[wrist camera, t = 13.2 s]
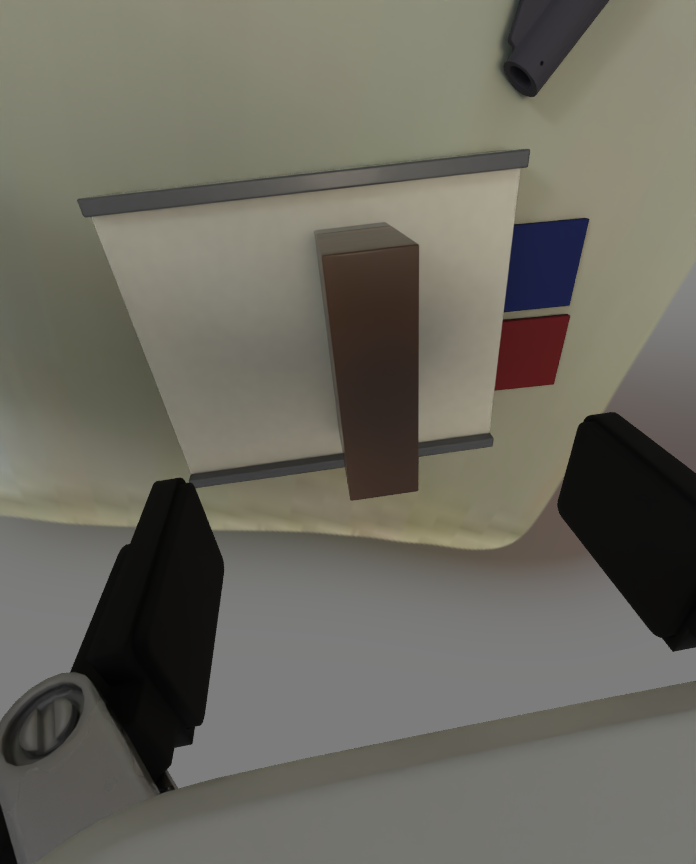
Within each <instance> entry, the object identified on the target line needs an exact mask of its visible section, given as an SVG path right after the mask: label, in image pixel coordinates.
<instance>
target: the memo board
mask: <svg viewBox="0 0 696 864" xmlns="http://www.w3.org/2000/svg"><path fill="white" fill-rule="evenodd" d="M529 155H530V149H518V150H503V151H494V152H485V153H476V154H467V155H458V156H449V157H440V158H431V159H422V160H413V161H404V162H395V163H386V164H377V165H368V166H359V167H350V168H341V169H332V170H323V171H314V172H305V173H296V174H287V175H278V176H269V177H260V178H251V179H242V180H233V181H224V182H215V183H206V184H197V185H188V186H179V187H170V188H161V189H152V190H143V191H134V192H125V193H116V194H107V195H99V196H93V197H88V198H82V199H78V200H77V202H78V204H79V207H80V209H81V212H82V214H83V216H84V217H91V218H92V221H93V223H94V226H95V228H96V231H97V233H98V236H99V239H100V241H101V244H102V246H103V249H104V251H105V254H106V257H107V259H108V262H109V264H110V267H111V269H112V272H113V274H114V277H115V280H116V282H117V285H118V287H119V290H120V292H121V295H122V298H123V300H124V303H125V305H126V308H127V310H128V313H129V316H130V318H131V321H132V323H133V326H134V328H135V331H136V334H137V336H138V339H139V341H140V344H141V346H142V349H143V351H144V354H145V357H146V359H147V362H148V364H149V367H150V369H151V372H152V375H153V377H154V380H155V382H156V385H157V387H158V390H159V393H160V395H161V398H162V400H163V403H164V405H165V408H166V411H167V413H168V416H169V418H170V421H171V423H172V426H173V428H174V431H175V434H176V436H177V439H178V441H179V444H180V446H181V449H182V452H183V454H184V457H185V459H186V462H187V464H188V467H189V470H190V472H191V476H190V479H189V483H192V484H193V485H194V487H195V488H200V487H207V486H214V485H221V484H228V483H235V482H242V481H250V480H257V479H264V478H271V477H278V476H285V475H292V474H299V473H307V472H314V471H321V470H328V469H335V468H342V467H345V464H344V458H343V452H342V446H341V440H340V434H339V427H338V419H337V411H336V403H335V395H334V387H333V379H332V371H331V363H330V355H329V347H328V339H327V331H326V323H325V315H324V307H323V299H322V291H321V283H320V275H319V267H318V259H317V251H316V243H315V235H314V231H315V230H322V229H330V228H339V227H347V226H356V225H364V224H373V223H381V222H386V223H387V224H389V225H390V226H392V227H394V228H395V229H397V230H398V231H400V232H401V233H403V234H404V235H406V236H407V237H408V238H410V239H411V240H413V241H414V242H416V243H417V244H419V442H418V457H421V456H428V455H435V454H442V453H449V452H456V451H463V450H471V449H478V448H485V447H492V446H493V440H494V438H493V437H492V435H491V434H490V433H489V431H490V423H491V414H492V406H493V397H494V389H495V380H496V372H497V364H498V355H499V347H500V338H501V330H502V321H503V313H504V304H505V296H506V287H507V279H508V271H509V262H510V254H511V245H512V237H513V228H514V220H515V211H516V203H517V194H518V186H519V178H520V169H521V168H526V167H528V163H529Z"/></svg>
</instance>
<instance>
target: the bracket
mask: <svg viewBox="0 0 696 864" xmlns="http://www.w3.org/2000/svg"><path fill="white" fill-rule="evenodd" d="M608 1H609V0H520V3H519V6H518V9H517V12H516V15H515V19H514V22H513V25H512V28H511V31H510V34H509V37H508V43H509V45H510V46H511V47H512V48H513V52H512V53H511V55H510V56H509V58H508V59H507V61H506V62H505V64H504V71H505V74H506V76H507V78H508V80H509V81H510V82H511V84H512V85H513V86H514V87H515V88H516V89H517V90H518V91H519V92H521V93H522V94H524V95H526V96H529V97H534V96H535V95H536V94H537V93H538V92H539V91H540V89H541V88H542V87H543V85H544V84H545V83H546V81H547V80H548V79H549V78H550V76H551V75H552V74H553V72H554V71H555V70H556V69H557V67H558V66H559V65H560V63H561V62H562V61H563V60H564V58H565V57H566V56H567V54H568V53H569V52H570V50H571V49H572V48H573V47H574V45H575V44H576V43H577V41H578V40H579V39H580V38H581V36H582V35H583V34H584V32H585V31H586V30H587V29H588V27H589V26H590V25H591V23H592V22H593V21H594V19H595V18H596V17H597V16H598V14H599V13H600V12H601V10H602V9H603V8H604V7H605V5H606V4H607V3H608Z"/></svg>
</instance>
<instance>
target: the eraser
mask: <svg viewBox="0 0 696 864" xmlns="http://www.w3.org/2000/svg"><path fill="white" fill-rule="evenodd" d="M314 235H315V243H316V251H317V259H318V267H319V275H320V283H321V291H322V299H323V307H324V315H325V323H326V331H327V339H328V347H329V355H330V363H331V371H332V379H333V387H334V395H335V403H336V411H337V419H338V427H339V434H340V440H341V446H342V452H343V458H344V464H345V471H346V477H347V483H348V489H349V495H350V500H359V499H366V498H373V497H380V496H387V495H394V494H401V493H408V492H415V491H418V442H419V244H417V243H416V242H414V241H413V240H411V239H410V238H408V237H407V236H406V235H404V234H403V233H401V232H400V231H398V230H397V229H395V228H394V227H392V226H390V225H389V224H387V223H386V222H381V223H373V224H364V225H356V226H347V227H339V228H330V229H322V230H315V231H314Z"/></svg>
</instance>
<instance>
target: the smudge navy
mask: <svg viewBox="0 0 696 864" xmlns="http://www.w3.org/2000/svg"><path fill="white" fill-rule="evenodd" d="M588 222H589V219H587V218H581V219H570V220H559V221H548V222H537V223H526V224H515V225H514V228H513V237H512V245H511V254H510V262H509V271H508V279H507V287H506V296H505V304H504V312H510V311H520V310H530V309H540V308H550V307H559V306H569V305H570V301H571V296H572V292H573V288H574V283H575V279H576V275H577V270H578V266H579V261H580V257H581V253H582V248H583V244H584V240H585V235H586V231H587V227H588Z"/></svg>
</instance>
